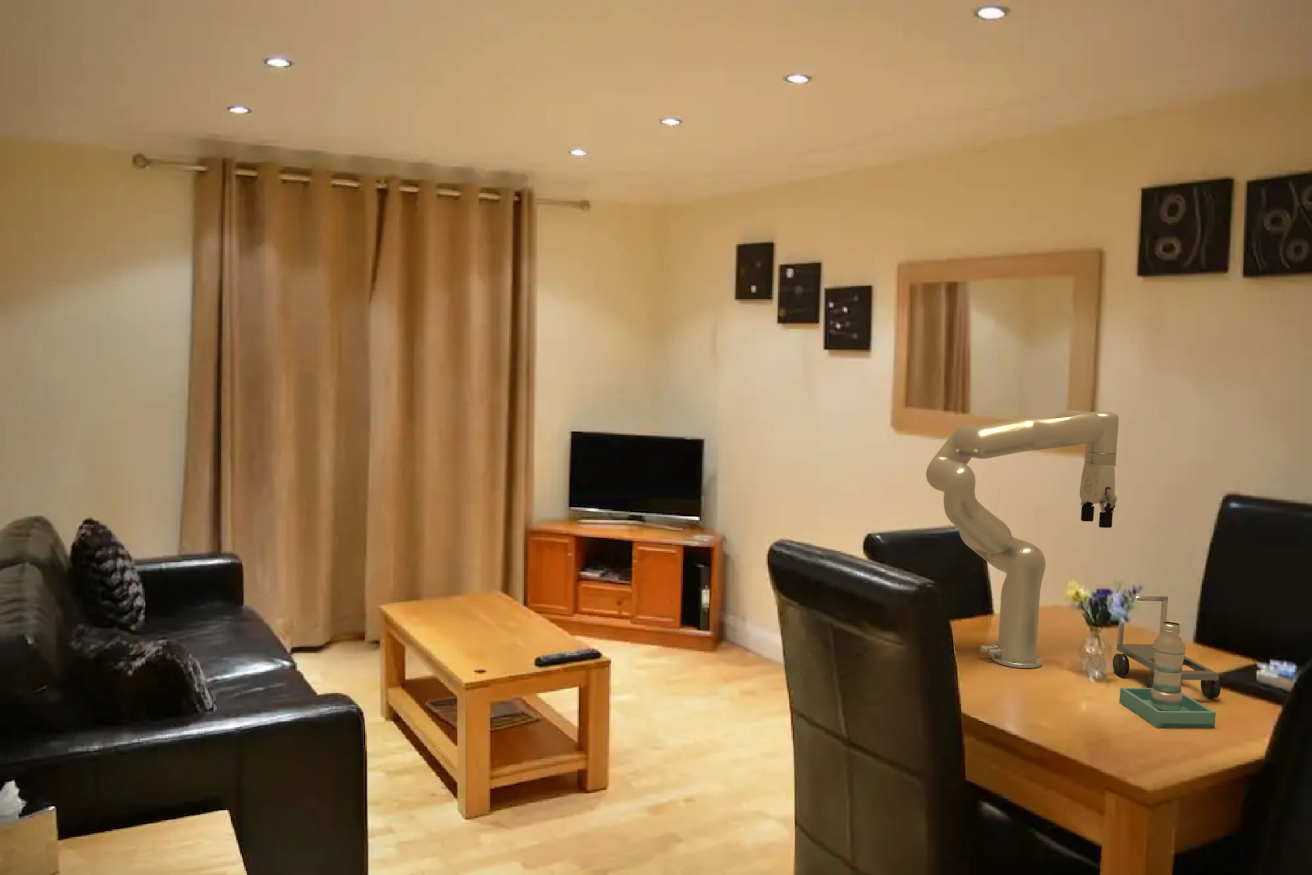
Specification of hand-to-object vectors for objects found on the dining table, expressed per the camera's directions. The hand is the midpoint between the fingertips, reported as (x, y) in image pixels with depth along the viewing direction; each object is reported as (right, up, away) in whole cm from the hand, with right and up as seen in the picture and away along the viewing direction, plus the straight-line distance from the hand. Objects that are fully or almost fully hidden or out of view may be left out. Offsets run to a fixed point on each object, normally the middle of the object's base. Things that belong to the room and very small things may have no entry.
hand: (1095, 524), depth 269 cm
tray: (-1, -40, -38) cm, 55 cm away
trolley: (+9, -38, -16) cm, 42 cm away
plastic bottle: (-1, -39, -38) cm, 54 cm away
